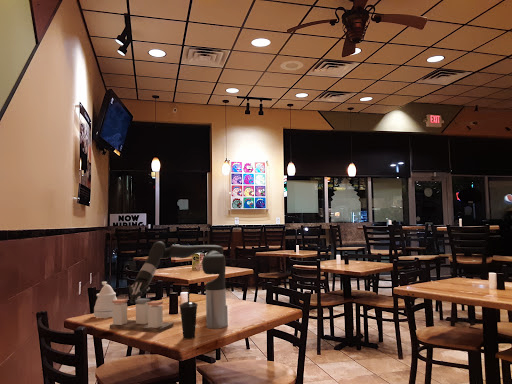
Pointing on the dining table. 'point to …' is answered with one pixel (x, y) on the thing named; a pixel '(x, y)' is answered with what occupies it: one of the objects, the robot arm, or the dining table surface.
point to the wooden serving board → (141, 326)
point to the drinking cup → (188, 318)
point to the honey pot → (105, 302)
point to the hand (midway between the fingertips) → (131, 302)
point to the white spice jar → (120, 312)
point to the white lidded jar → (142, 311)
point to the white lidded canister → (155, 314)
